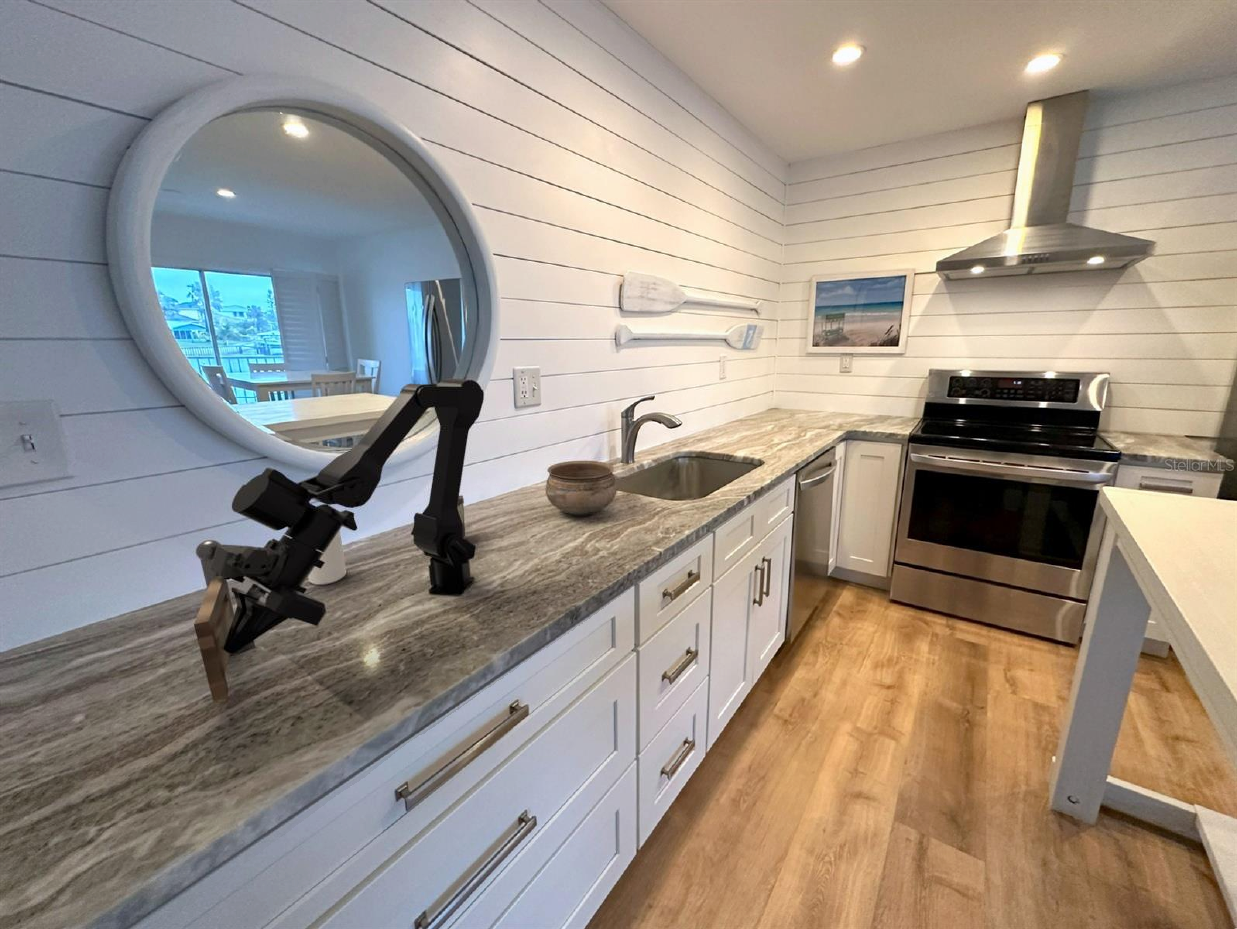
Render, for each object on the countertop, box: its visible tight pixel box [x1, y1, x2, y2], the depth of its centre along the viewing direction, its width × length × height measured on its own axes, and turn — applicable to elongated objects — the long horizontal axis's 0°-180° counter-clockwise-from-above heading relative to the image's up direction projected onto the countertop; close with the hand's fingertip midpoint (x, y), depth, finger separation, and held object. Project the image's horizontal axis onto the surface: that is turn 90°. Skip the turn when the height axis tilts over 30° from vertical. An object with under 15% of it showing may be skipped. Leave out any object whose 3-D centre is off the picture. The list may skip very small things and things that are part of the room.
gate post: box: [195, 539, 256, 658], centre depth 73 cm, size 4×4×18 cm
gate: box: [193, 576, 235, 703], centre depth 67 cm, size 14×1×11 cm, turn 31°
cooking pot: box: [545, 460, 618, 518], centre depth 132 cm, size 25×19×12 cm
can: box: [307, 529, 347, 586], centre depth 96 cm, size 6×6×12 cm
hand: (228, 651), depth 64 cm, fingers closed
